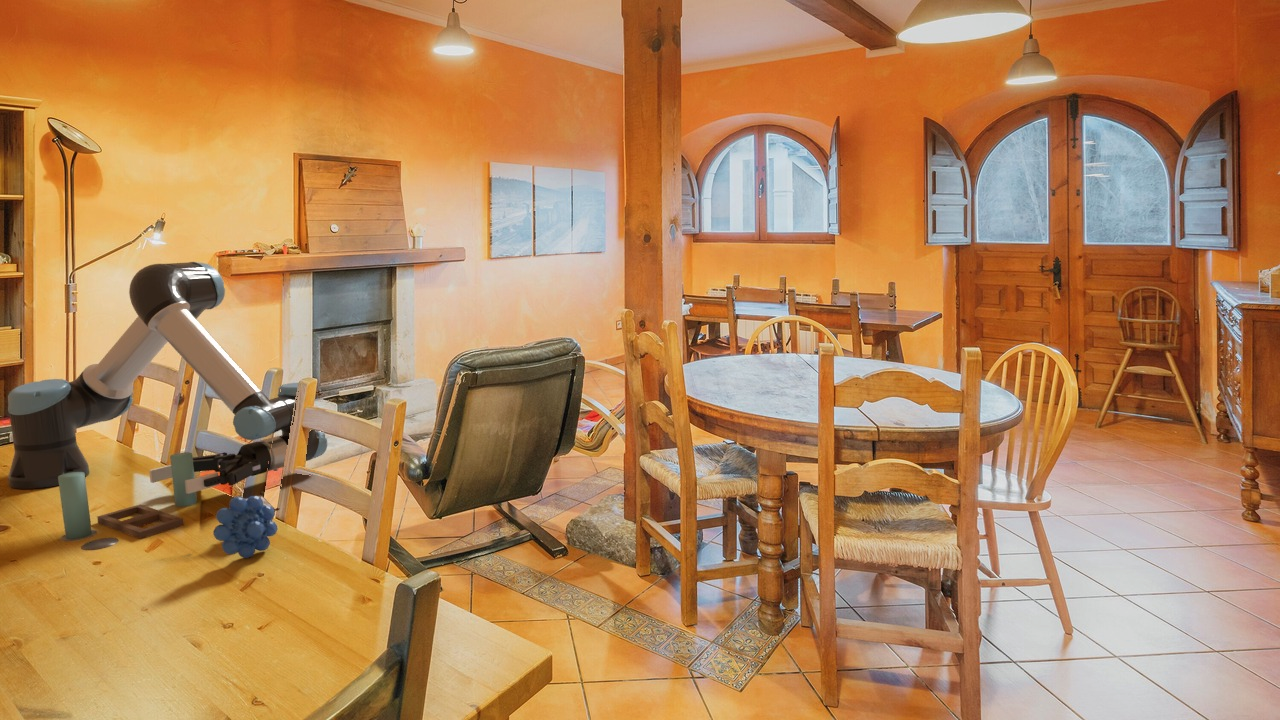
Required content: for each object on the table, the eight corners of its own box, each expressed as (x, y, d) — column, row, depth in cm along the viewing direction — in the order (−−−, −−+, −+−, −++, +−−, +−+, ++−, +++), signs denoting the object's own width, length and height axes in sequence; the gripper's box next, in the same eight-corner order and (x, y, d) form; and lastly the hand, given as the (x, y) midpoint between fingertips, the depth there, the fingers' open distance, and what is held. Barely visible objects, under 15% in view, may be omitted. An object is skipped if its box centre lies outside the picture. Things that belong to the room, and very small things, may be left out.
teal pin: (176, 507, 159) (170, 453, 157) (197, 504, 161) (192, 451, 159) (175, 513, 156) (169, 458, 154) (197, 509, 158) (192, 456, 156)
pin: (67, 533, 142) (59, 473, 140) (93, 529, 144) (85, 470, 142) (64, 540, 138) (56, 479, 136) (90, 536, 140) (82, 476, 138)
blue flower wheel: (232, 575, 127) (225, 509, 125) (209, 566, 130) (203, 502, 128) (292, 550, 137) (287, 489, 135) (270, 543, 140) (265, 483, 138)
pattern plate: (51, 542, 141) (50, 536, 140) (98, 528, 147) (97, 522, 147) (93, 560, 133) (92, 554, 132) (140, 544, 139) (140, 538, 139)
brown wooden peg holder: (98, 528, 147) (97, 516, 147) (141, 515, 154) (140, 504, 154) (140, 544, 139) (139, 532, 139) (184, 530, 146) (183, 518, 146)
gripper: (297, 480, 167) (203, 509, 149) (232, 463, 179) (138, 488, 161) (295, 448, 166) (200, 474, 148) (230, 433, 178) (134, 455, 160)
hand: (167, 481), depth 154 cm, fingers open, 13 cm apart
